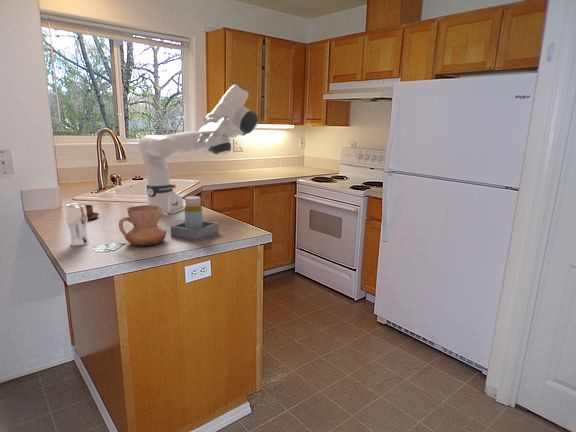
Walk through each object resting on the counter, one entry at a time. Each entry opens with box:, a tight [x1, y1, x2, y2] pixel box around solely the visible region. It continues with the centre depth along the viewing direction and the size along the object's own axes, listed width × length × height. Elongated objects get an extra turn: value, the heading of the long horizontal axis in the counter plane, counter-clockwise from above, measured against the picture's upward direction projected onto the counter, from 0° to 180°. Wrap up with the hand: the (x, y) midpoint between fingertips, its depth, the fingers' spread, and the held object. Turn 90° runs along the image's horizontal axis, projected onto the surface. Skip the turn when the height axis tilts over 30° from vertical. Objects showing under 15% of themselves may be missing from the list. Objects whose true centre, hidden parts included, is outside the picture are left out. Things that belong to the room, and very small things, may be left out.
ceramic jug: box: [118, 204, 169, 247], centre depth 148 cm, size 18×14×14 cm
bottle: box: [184, 195, 203, 230], centre depth 159 cm, size 7×7×15 cm
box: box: [170, 220, 219, 243], centre depth 160 cm, size 14×14×4 cm
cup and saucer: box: [85, 204, 100, 221], centre depth 183 cm, size 12×12×6 cm
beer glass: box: [65, 203, 90, 247], centre depth 146 cm, size 7×7×15 cm
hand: (202, 144), depth 157 cm, fingers open, 8 cm apart
